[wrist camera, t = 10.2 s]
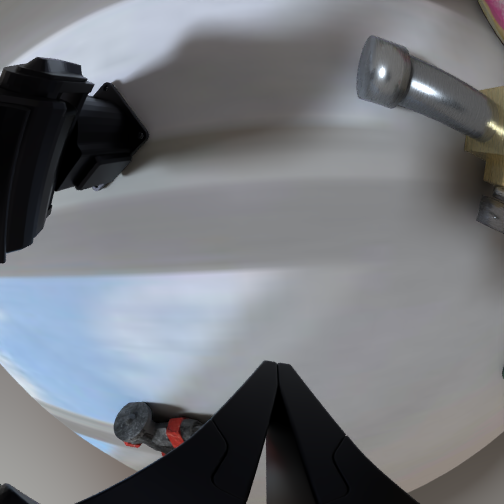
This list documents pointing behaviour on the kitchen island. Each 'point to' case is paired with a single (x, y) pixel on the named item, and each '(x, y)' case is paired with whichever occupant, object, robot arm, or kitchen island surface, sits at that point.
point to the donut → (494, 15)
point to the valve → (152, 428)
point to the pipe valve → (436, 101)
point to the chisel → (491, 213)
